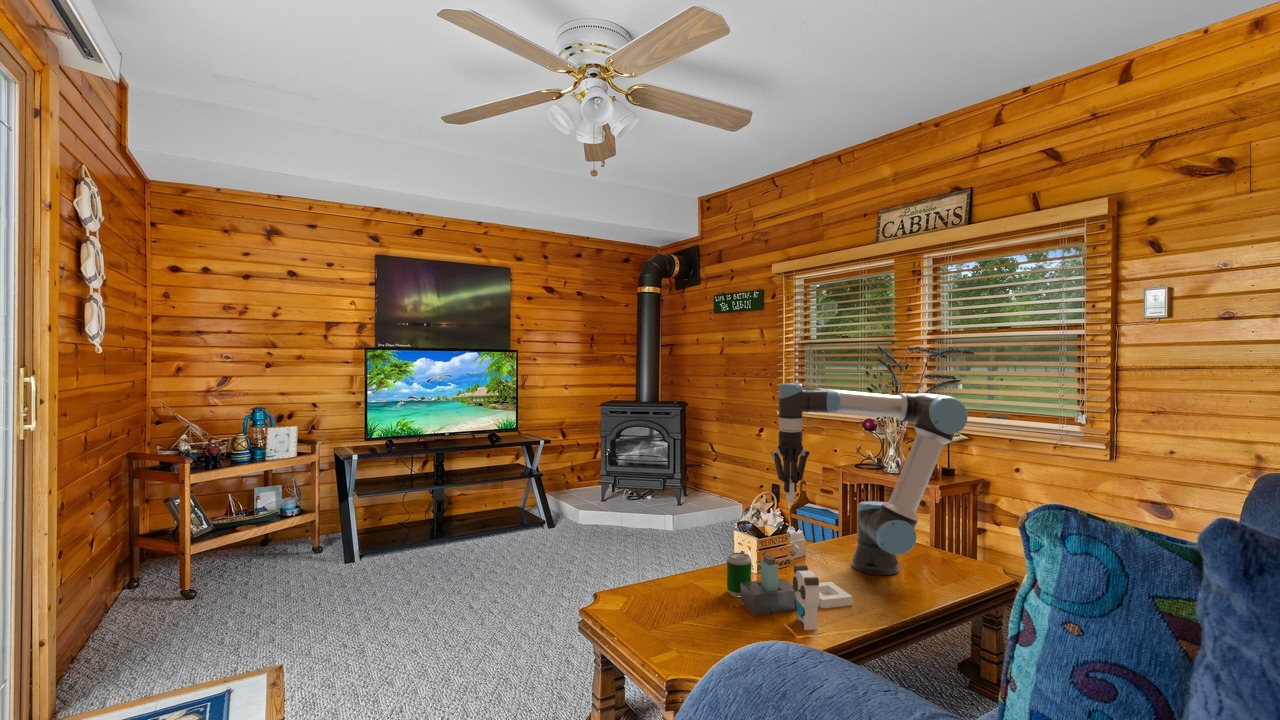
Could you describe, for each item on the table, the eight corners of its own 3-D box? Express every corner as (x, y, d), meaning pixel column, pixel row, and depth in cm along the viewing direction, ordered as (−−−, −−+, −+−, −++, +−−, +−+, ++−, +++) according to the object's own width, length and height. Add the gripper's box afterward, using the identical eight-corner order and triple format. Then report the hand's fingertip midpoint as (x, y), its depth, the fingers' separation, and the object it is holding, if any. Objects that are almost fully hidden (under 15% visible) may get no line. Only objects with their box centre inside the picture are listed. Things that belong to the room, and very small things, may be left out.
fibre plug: (770, 595, 185) (770, 554, 184) (778, 602, 180) (778, 559, 180) (760, 596, 184) (760, 555, 184) (768, 603, 179) (768, 560, 179)
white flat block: (831, 591, 193) (831, 581, 193) (852, 606, 181) (852, 596, 181) (802, 594, 191) (802, 584, 191) (822, 610, 179) (822, 599, 179)
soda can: (751, 599, 187) (751, 560, 187) (726, 597, 188) (726, 558, 188) (751, 590, 194) (751, 552, 194) (727, 588, 196) (727, 551, 196)
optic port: (783, 597, 188) (783, 578, 188) (798, 610, 179) (798, 590, 178) (740, 601, 185) (740, 582, 185) (754, 615, 175) (754, 595, 175)
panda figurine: (780, 616, 175) (780, 564, 175) (819, 615, 176) (819, 563, 175) (792, 635, 163) (792, 580, 163) (834, 634, 164) (834, 579, 163)
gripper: (803, 428, 205) (802, 498, 206) (767, 429, 202) (767, 500, 203) (814, 431, 198) (814, 503, 198) (777, 432, 195) (777, 506, 195)
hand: (790, 502), depth 200 cm, fingers closed
